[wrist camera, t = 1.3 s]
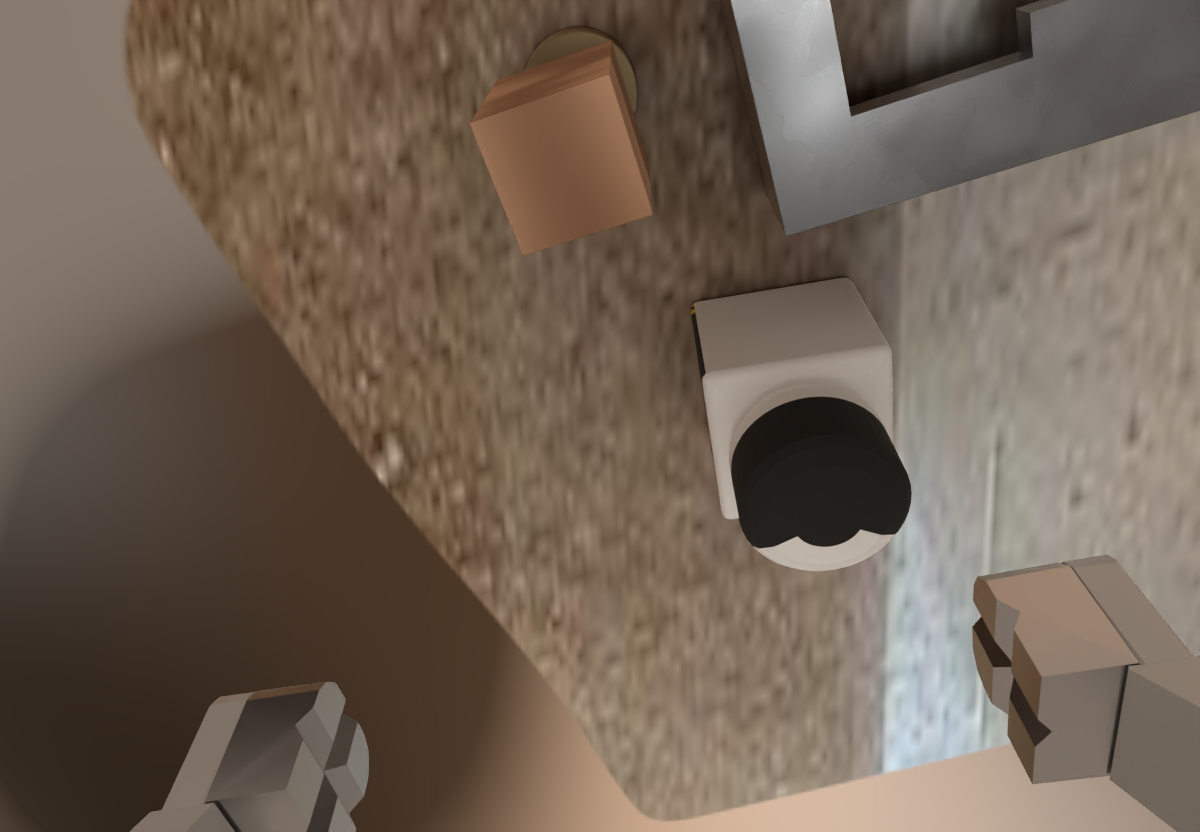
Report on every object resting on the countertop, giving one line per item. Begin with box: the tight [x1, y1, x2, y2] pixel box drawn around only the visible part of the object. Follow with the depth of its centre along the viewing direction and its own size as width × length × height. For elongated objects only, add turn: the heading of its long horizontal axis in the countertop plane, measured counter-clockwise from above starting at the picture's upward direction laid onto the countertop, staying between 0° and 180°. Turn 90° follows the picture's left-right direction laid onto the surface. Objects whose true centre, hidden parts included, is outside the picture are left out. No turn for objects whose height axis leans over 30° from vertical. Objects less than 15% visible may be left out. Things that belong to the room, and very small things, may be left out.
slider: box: [470, 26, 653, 256], centre depth 29 cm, size 4×4×12 cm
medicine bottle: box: [691, 278, 911, 571], centre depth 35 cm, size 7×7×12 cm
